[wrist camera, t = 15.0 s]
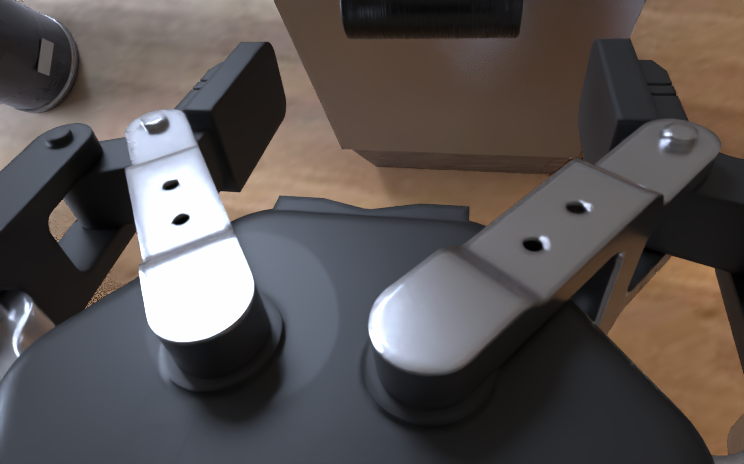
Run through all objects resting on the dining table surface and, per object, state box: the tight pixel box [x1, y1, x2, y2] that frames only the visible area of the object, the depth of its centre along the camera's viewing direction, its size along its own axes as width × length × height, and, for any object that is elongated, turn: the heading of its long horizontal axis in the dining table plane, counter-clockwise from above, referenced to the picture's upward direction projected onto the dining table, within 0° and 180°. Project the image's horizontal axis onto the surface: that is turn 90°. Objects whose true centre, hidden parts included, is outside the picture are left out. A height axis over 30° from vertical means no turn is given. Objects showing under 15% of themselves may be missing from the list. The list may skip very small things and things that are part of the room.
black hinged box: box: [353, 150, 570, 175], centre depth 36 cm, size 17×14×10 cm
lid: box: [274, 0, 646, 158], centre depth 21 cm, size 18×14×6 cm
